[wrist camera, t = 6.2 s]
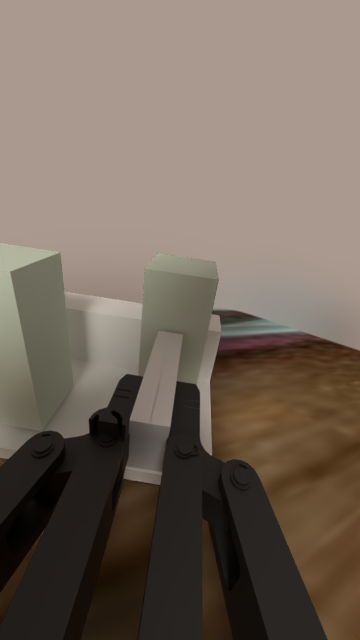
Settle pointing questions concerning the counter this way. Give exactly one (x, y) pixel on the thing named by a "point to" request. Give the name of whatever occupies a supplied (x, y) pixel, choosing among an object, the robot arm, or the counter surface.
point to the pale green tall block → (178, 309)
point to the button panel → (108, 371)
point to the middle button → (32, 337)
